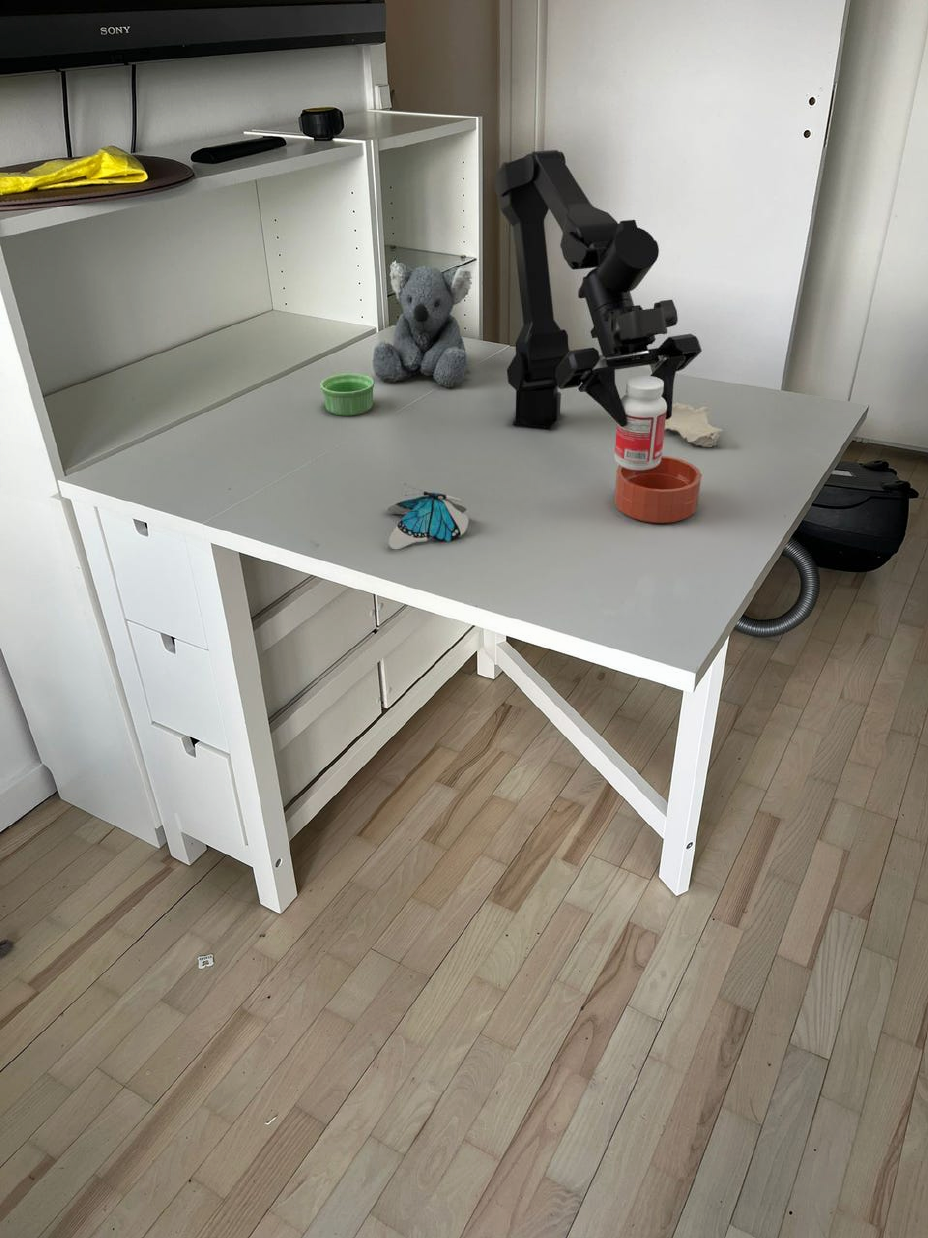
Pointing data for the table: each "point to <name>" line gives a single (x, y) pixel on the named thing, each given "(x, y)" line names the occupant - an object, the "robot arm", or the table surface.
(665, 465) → the bowl
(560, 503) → the table surface
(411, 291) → the koala plush
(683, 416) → the coral
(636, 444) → the pill bottle
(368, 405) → the ramekin
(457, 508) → the decorative butterfly
